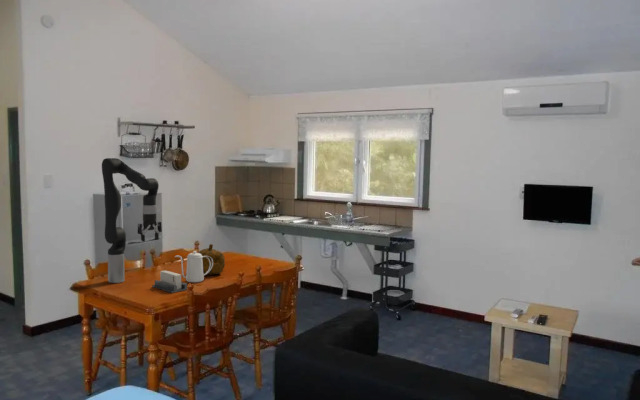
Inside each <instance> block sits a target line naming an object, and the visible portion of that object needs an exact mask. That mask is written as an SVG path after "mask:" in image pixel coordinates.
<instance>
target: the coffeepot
mask: <svg viewBox="0 0 640 400" xmlns="http://www.w3.org/2000/svg"><path fill="white" fill-rule="evenodd" d="M202 257H205V256H202V255H201V254H200V253H198V252H197V250H193V252H190V253H188V254H187V257H186V270H185V271H186V273H185V274H184V265H183V263H184V261H183V257H182V256H181V255H177V254H176V255H175V256H174V258H179V259H180V263H181V265H180V266H181V276H182V278H185V281H187V282H188V283H201V282H203V281H204V279H205V277H204V276H206V274H207V273H209V271H210V270H211V269H212V267H213V260H212V266H211V262H210V260H209V262H210V267H211V268H210V267H209V269H208V271H207V272H206V273H205V274H203V261H202ZM208 257H209V256H208ZM210 258H211V257H210ZM208 259H209V258H208ZM211 259H212V258H211Z"/></svg>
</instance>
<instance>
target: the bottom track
mask: <svg viewBox="0 0 640 400" xmlns="http://www.w3.org/2000/svg"><path fill="white" fill-rule="evenodd" d="M187 285H189V283H186V282H182V281H181V288H180V289H177V286H175V285H172V284H169V283H165V282H162V281H161V280H159V279H158V280H154V284H153V285H152V288H154V289H158V290H162V291H164V292H166V293H167V292H168V293H171V294H175V293H178V292H183V291H188V290H187Z"/></svg>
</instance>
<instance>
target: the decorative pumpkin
mask: <svg viewBox="0 0 640 400" xmlns="http://www.w3.org/2000/svg"><path fill="white" fill-rule="evenodd" d="M213 247H214V245H213V244H212V243H211V244H209V246H208V248H207V247H206V248H203V249H201V250H200V251H198V252H197V253H200V254H201V255H202V256H205V257H202V261H203V274H205V273H206V272H207V271H208V269H209V267H210V262H211V266H212V260H213V267H212V269H211V270H210V271H209V273H207V274H206V275H207V276H213V275H219V274H222V272H223V271H224V269H225V265H226V262H225V261H226V260H225V256H224V254H223V252H221V251H219V250H216V249H213ZM208 256H209V257H208ZM210 257H211V258H212V259H211V258H210ZM208 258H209V259H208ZM209 260H210V262H209ZM210 268H211V267H210ZM206 275H205V276H206Z"/></svg>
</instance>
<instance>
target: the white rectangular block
mask: <svg viewBox="0 0 640 400" xmlns="http://www.w3.org/2000/svg"><path fill="white" fill-rule="evenodd" d="M159 273H160V281H162V282H165V283H169V284H172V285H175V286H177V289H180V288H181V282H182V273H176V272H173V271H169V270H166V269H165V270H161V271H159Z"/></svg>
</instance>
